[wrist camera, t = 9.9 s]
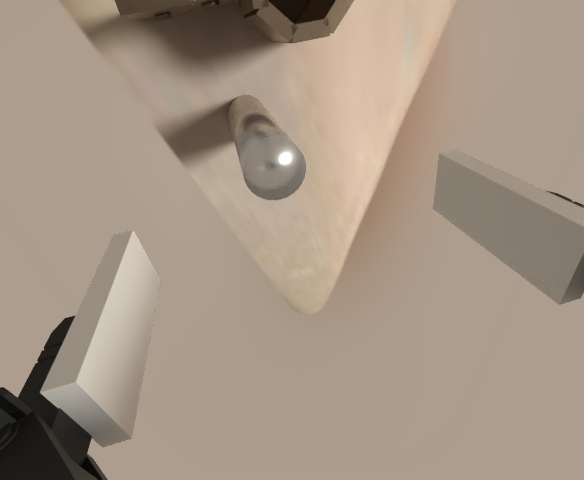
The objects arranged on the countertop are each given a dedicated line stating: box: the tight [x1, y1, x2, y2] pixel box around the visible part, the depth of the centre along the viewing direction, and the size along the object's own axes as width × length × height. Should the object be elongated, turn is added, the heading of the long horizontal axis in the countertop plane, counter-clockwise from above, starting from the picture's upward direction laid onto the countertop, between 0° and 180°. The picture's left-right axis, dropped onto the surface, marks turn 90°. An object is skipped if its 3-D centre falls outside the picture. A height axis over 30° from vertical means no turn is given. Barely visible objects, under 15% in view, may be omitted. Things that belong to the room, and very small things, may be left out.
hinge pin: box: [228, 95, 306, 200], centre depth 24 cm, size 4×4×15 cm
